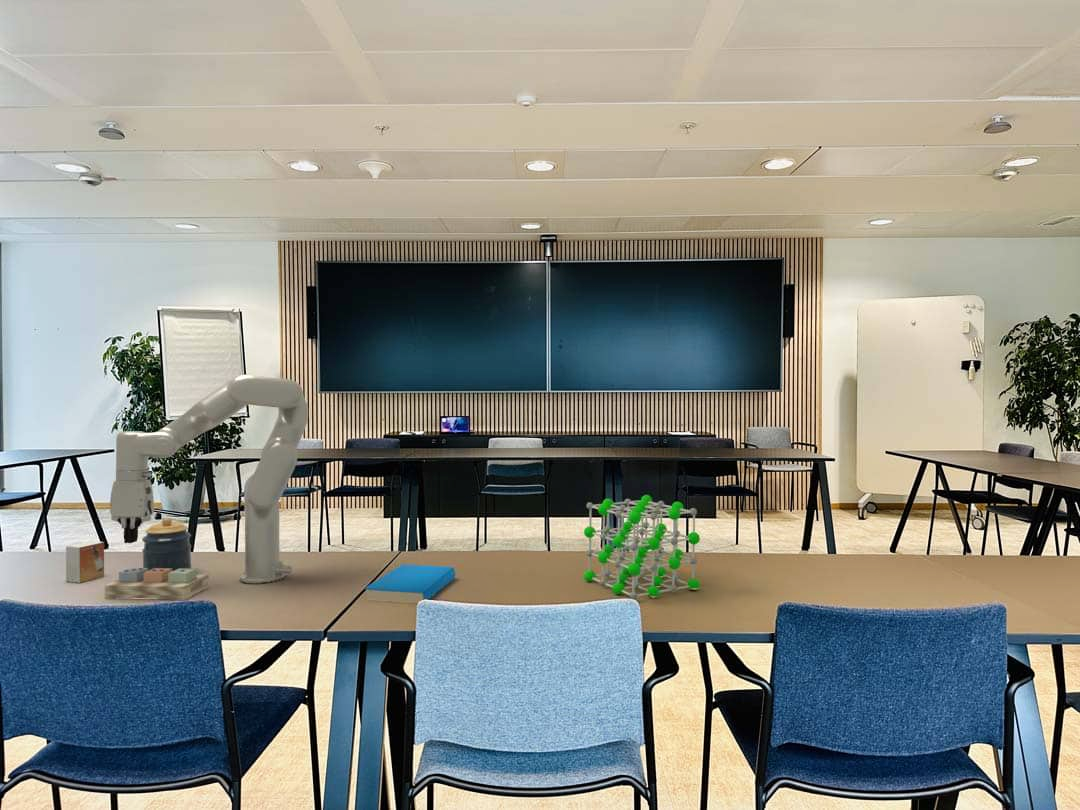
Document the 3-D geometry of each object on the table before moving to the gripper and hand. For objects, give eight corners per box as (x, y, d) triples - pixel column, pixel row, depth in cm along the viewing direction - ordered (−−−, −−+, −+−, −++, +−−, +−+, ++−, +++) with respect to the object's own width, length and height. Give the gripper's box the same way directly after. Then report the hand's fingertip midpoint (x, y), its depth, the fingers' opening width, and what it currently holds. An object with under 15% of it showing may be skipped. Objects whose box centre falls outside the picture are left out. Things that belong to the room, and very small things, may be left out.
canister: (163, 569, 213) (163, 513, 212) (200, 571, 210) (200, 514, 210) (132, 580, 200) (131, 520, 199) (171, 582, 198) (170, 522, 197)
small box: (79, 583, 197) (78, 547, 196) (65, 581, 198) (65, 546, 198) (105, 576, 204) (104, 541, 204) (91, 574, 206) (91, 540, 206)
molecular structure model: (646, 570, 212) (647, 493, 211) (702, 591, 190) (703, 505, 190) (581, 581, 200) (581, 499, 200) (633, 604, 178) (633, 513, 178)
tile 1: (196, 579, 190) (196, 568, 189) (186, 584, 185) (186, 572, 184) (179, 579, 190) (179, 567, 190) (168, 584, 185) (168, 572, 185)
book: (364, 588, 181) (401, 563, 205) (364, 603, 181) (401, 577, 206) (425, 591, 178) (455, 565, 202) (425, 607, 178) (455, 580, 202)
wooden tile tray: (208, 587, 193) (208, 574, 193) (184, 600, 181) (184, 586, 181) (134, 585, 194) (133, 573, 194) (104, 598, 182) (104, 585, 182)
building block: (148, 578, 190) (148, 567, 190) (136, 583, 185) (136, 572, 185) (130, 578, 191) (130, 566, 191) (118, 583, 186) (118, 571, 186)
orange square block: (172, 579, 190) (172, 567, 190) (161, 584, 185) (161, 572, 185) (155, 578, 190) (154, 567, 190) (143, 583, 185) (143, 572, 185)
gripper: (166, 475, 191) (165, 540, 191) (115, 473, 191) (114, 538, 192) (149, 478, 183) (148, 546, 183) (96, 476, 184) (95, 544, 184)
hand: (130, 542), depth 187 cm, fingers closed
